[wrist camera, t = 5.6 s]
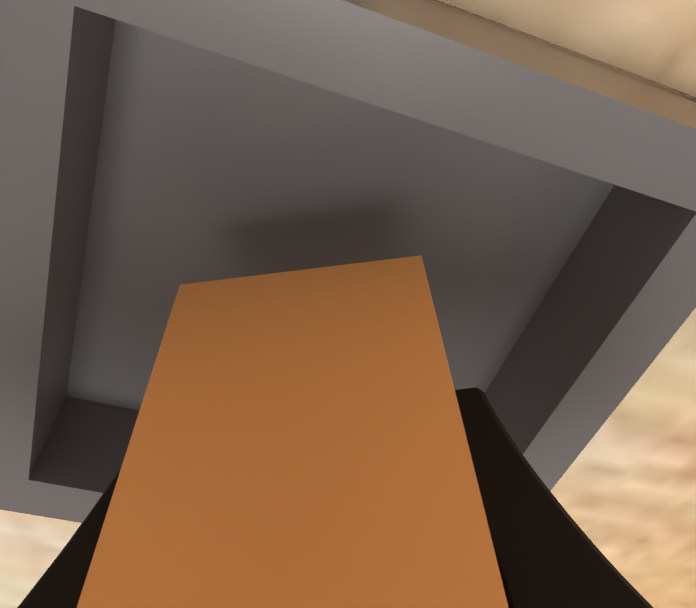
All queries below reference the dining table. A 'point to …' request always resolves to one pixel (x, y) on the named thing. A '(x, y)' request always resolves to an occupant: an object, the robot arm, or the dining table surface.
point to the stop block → (299, 454)
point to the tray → (324, 206)
